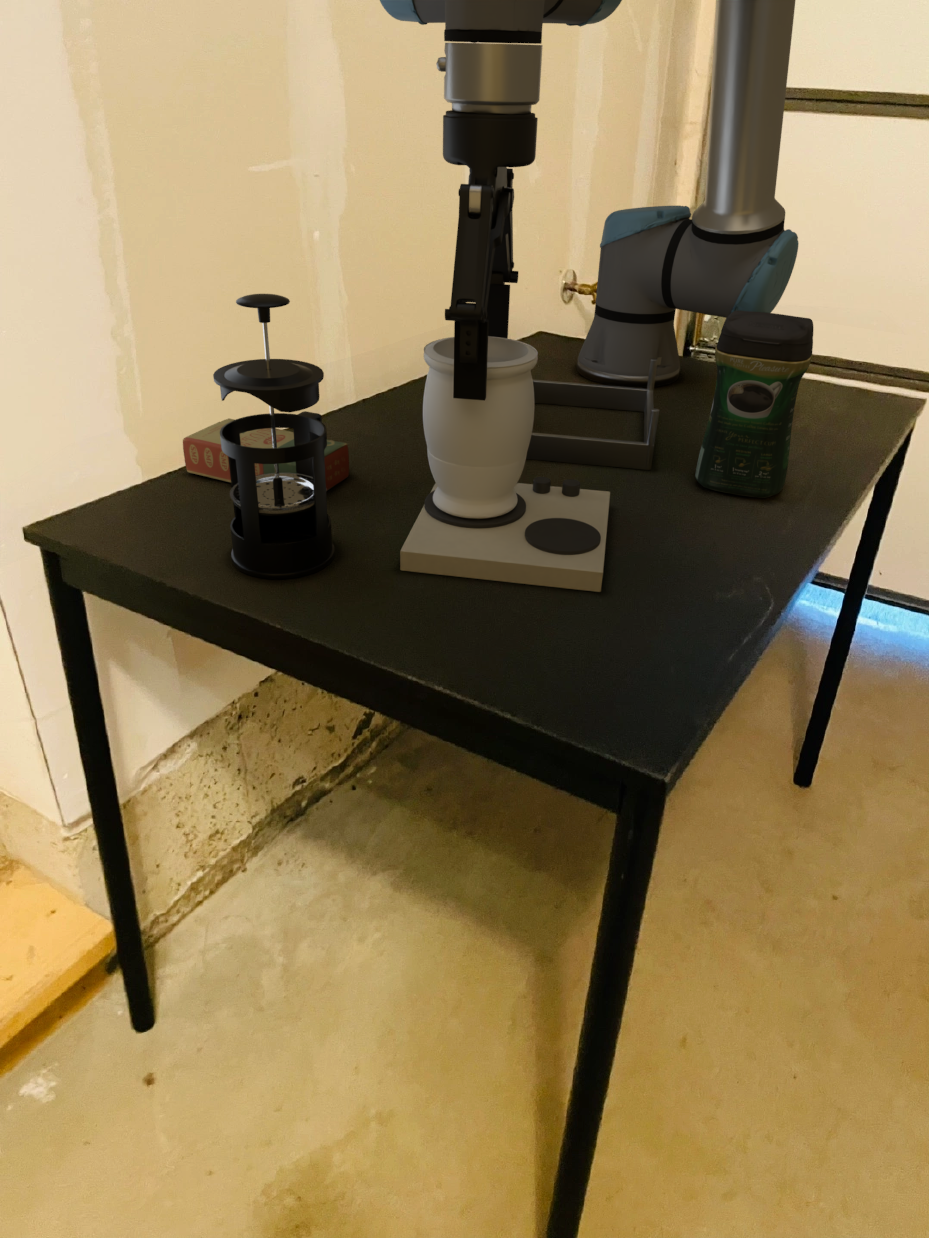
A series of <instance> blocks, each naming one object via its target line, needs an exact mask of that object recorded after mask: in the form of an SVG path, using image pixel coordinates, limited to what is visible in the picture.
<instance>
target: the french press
mask: <svg viewBox="0 0 929 1238" xmlns="http://www.w3.org/2000/svg"><path fill="white" fill-rule="evenodd" d="M290 302H291V300H290V299H289V298H288V297H286V296H283V295H280V294H275V293H253V294H252V293H250V294H246V295H243V296H240V297H238V298H237V299H236V300H235V303H236V305H238V306H240V307H244V308H249V309H250V308H251V309H257V318H258V322H259V323H260V324H262V334H263V346H264V357H265V358H258V359H248V360H242V361H236V362H233V363H228V364H226V365H223V366H222V367H219V368H217V369H216V370H215V371H214V373H213V374H212V377H213V382H214V383H215V384H216V385H217V386H219V388H220V398H221V402H224V401H225V399H226V398H227V397H228V395H229V394H231V393H233V392H239V393H245V394H249V395H251V396H252V397H254V398H257V399H258V400H260V401H262V402H263V403H264V404H266V405H268V407H269V413H259V414H252V415H247V416H242V417H239V418H236V419H234V420H233V421H231V422H229V423H227V424H226V425H224V426H223V427H222V428H221V430H220V440H221V448H222V451H223V452H224V454H226V455H227V456H228V460H229V469H230V478H231V482H230V487H231V488H230V491H229V497H230V499H231V500H232V503H233V512H234V513H233V514H234V516H233V518H232V519H231V521H230V524H229V527H230V535H231V544H232V545H231V546H232V549H231V553H230V557H231V559H230V560H231V562H232V564H233V566H234V567H235V569H237V570H238V571H240V572H242V573H244V574H245V575H249V576H251V577H254V578H260V579H267V580H288V579H297V578H301V577H305V576H306V577H307V576H310V575H312V574H314V573H317V572H319V571H322V570H323V569H325V568H326V567H328V566H329V565H330V564H331V563H332V562H333V560H334V558H335V554H336V548H335V544H334V543H333V532H332V519H331V515H329V514H328V502H327V501H328V498H327V491H326V478H325V458H324V450H325V448H326V447H327V439H328V433H327V427H326V425H325V424H324V423H323V419H322V415H321V414H320V413H317V412H312V411H305V410H306V409H308V408H311V407H313V406H315V405H316V404H318V402H319V401H320V383H321V382H322V381H323V380H324V378H325V377H324V376H325V373H324V371H323V369H322V368H321V367H320V366H318V365H316V364H313V363H310V362H307V361H303V360H297V359H289V358H288V359H287V358H271V355H270V343H269V330H268V323H271V309H274V308H275V309H276V308H280V307H285V306H287V305H289V304H290ZM275 410H277V411H279V412H275ZM303 410H304V411H303ZM300 411H301V412H300ZM295 412H300V413H298V414H296V413H295ZM265 428H271V432H272V444H273V448H253V447H247V446H242V445H241V441H240V433H244V432H247V431H252V430H257V429H265ZM276 429H292V432H294V446H291V447H284V448H277V441H276ZM290 462H296V473H279V466H278V464H282V463H290ZM254 463H257V464H274V468H275V473H269V474H263V475H258V476H256V475H255V464H254ZM275 537H298V538H304V539H302V540H299V541H298V540H297V541H293V542H284V543H283V542H282V543H267V542H263V540H267V539H270V538H275Z"/></svg>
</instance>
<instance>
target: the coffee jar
mask: <svg viewBox="0 0 929 1238" xmlns="http://www.w3.org/2000/svg"><path fill="white" fill-rule="evenodd" d="M813 348H814V321H813V319H811V318H810V317H803V316H795V315H788V314H781V313H775V312H774V313H773V312H771V313H765V312H752V311H738V310H737V311H734V312H732V313H731V314H730V315H729V316H728V317H727V318H725V320H724V323H723V325H722V327H721V330H720V334H719V337H718V339H717V343H716V346H715V350H714V360H715V365H716V381H715V387H714V388H715V389H714V394H713V399H712V404H711V409H710V413H709V417H708V421H707V425H706V427H705V432H704V434H703V439H702V442H701V446H700V450H699V454H698V459H697V462H696V468H695V477H694V478H695V480H696V481H697V483H698V484H700V485H701V487H703V488H705V489H707V490H711V491H715V492H721V493H724V494H725V493H726V494H731V495H736V496H743V497H751V498H759V499H762V498H763V499H764V498H765V499H766V498H770V497H772V496H775V495H778V494H779V493H780V492H781V491H782V490H783V488H784V486H785V483H786V478H787V473H788V467H789V461H790V459H789V458H790V451H791V450H790V449H791V437H792V429H793V423H794V422H793V420H794V413H795V407H796V403H797V402H796V401H797V396H798V391H799V387H800V383H801V380H802V379H803V377H804V375H805V374H806V372H807V371H808V369H809V368H810V366H811V362H812V358H813Z"/></svg>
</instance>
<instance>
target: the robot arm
mask: <svg viewBox="0 0 929 1238" xmlns="http://www.w3.org/2000/svg"><path fill="white" fill-rule="evenodd" d="M622 1H623V0H379V2H380V5H381V6H382V8H383V9H384V10H385V11H386V13H387V14H388V15H389V16H391V17H392V18H393V19H395V20H397V21H400V22H409V23H410V22H411V23H418V24H420V25H422V26H424V25H428V24H444V25H445V26H444V32H443V41H444V49H443V50H444V55H445V56H440V57H438V58H437V61H436V63H435V64H436V65H435V66H436V69H437V70H438V72H441V73H443V72H445V74H444V77H443V99H444V100H445V101H446V102H447V103H450V104H451V109H450V110H446V111H445V114H443V115H442V158H443V159H444V161H445V162H447V164H450V165H455V166H466V167H468V169H469V175H468V182H467V183H460V185H459V188H458V193H457V194H458V199H459V201H458V219H457V220H458V221H457V231H456V240H455V241H456V242H455V251H454V253H455V254H454V264H453V275H452V284H451V295H450V297H451V298H450V306H449V307H448V308H444V320H445V321H450V322H454V324H453V325H454V326H453V327H454V329H453V337H454V386H453V398H458V399H471V400H484V401H485V399H486V385H487V357H488V336H491V337H500V338H507V339H509V318H510V300H511V298H510V296H511V284H518V283H519V270H513V269H514V268H515V262H514V237H513V236H514V225H513V222H514V221H513V219H514V217H513V216H514V215H513V208H514V201H515V190H514V188H513V187H514V186H513V183H514V182H513V181H514V179H515V172H514V169H513V168H522V167H527V166H530V165H532V164H533V163H534V162H535V160H536V155H537V140H538V139H537V138H538V137H537V136H538V121H539V120H538V119H539V118H538V117H536V113H535V112H532V106H534V105H537V104H538V103H539V102H540V99H541V98H540V97H541V96H540V95H541V80H542V79H541V77H542V64H543V63H542V61H543V46H544V45H543V44H542V43H543V42H542V39H543V26H544V25H543V24H562V25H563V24H564V25H566V26H569V27H573V26H575V27H576V26H578V27H580V28H581V27H583V26H586V25H592V24H593V25H594V24H598V23H600V22H602V21H605V19H607V18H608V17H610V16H611V15H612V14H613V13H614V12H615V11H616V10H617V8H618V7H619V6H620V5H621V3H622ZM795 8H796V0H715V9H714V10H715V12H714V27H713V46H712V47H713V48H712V49H713V50H712V64H711V65H712V66H711V81H710V87H711V88H710V99H709V101H710V103H709V121H708V136H707V139H708V140H707V157H706V173H705V190H704V191H705V192H704V201H703V202H702V203H701V204H700V205H699V206H698V207H697V208H696V209H694V211H693V212H692V213H691V208H690V207H689V206H687V205H656V206H641V207H632V208H625V209H618V210H614V211H612V212H610V214H608V216H607V217H606V219H605V220H604V223H603V230H602V235H601V241H600V244H599V248H600V253H599V263H598V273H597V283H596V293H595V306H594V317H593V320H592V322H591V324H590V327H589V329H588V332H587V334H586V336H585V339H584V342H583V344H582V345H581V349H580V350H579V354H578V356H577V363H576V371H577V373H578V374H579V375H580V376H582V377H583V378H586V379H588V380H590V381H593V382H597V383H601V384H603V385H609V386H621V387H634V388H647V384H648V376H649V369H650V361H651V359H658V362H657V369H656V376H655V383H654V388H655V387H660V386H666V385H669V384H672V383H674V382H676V381H677V380H678V379H679V376H680V369H681V360H680V355H679V347H678V343H677V336H676V330H675V318H676V310H680V311H685V312H691V313H696V314H703V315H708V316H714V317H719V318H724V319H726V318H727V317H728V316H729V315H730V314H731V313H732V312H734V311H737V310H738V311H752V312H765V313H773V311H774V310H775V308H776V307H777V306H778V304H779V302H780V300H781V298H782V297H783V295H784V292H785V291H786V290H787V289H786V288H787V286H788V284H789V281H790V279H791V276H792V273H793V270H794V267H795V265H796V260H797V257H798V253H799V252H798V251H799V237H798V234H797V233H796V232H795V231H793V230H792V229H790V228H789V229H785V222H786V221H785V220H786V210H785V208H784V206H782V204H781V203H780V202H779V201H778V200H777V199H776V189H777V179H778V178H777V177H778V171H779V170H778V169H779V160H780V151H781V142H782V130H783V123H784V113H785V104H786V95H787V94H786V93H787V84H788V76H789V75H788V74H789V66H790V56H791V48H792V47H791V45H792V38H793V27H794V19H795V18H794V17H795ZM506 283H507V284H506ZM508 283H509V284H508Z"/></svg>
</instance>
